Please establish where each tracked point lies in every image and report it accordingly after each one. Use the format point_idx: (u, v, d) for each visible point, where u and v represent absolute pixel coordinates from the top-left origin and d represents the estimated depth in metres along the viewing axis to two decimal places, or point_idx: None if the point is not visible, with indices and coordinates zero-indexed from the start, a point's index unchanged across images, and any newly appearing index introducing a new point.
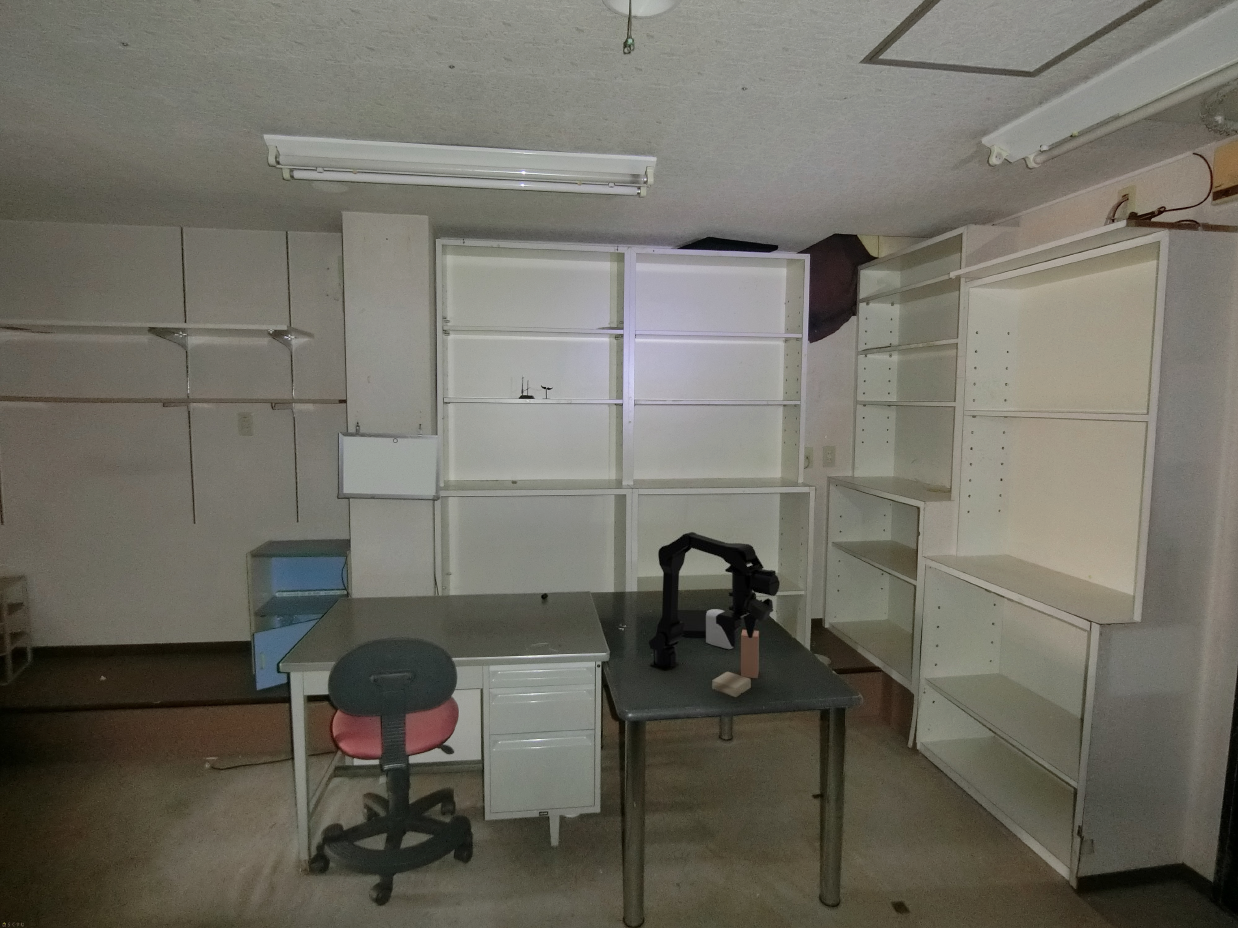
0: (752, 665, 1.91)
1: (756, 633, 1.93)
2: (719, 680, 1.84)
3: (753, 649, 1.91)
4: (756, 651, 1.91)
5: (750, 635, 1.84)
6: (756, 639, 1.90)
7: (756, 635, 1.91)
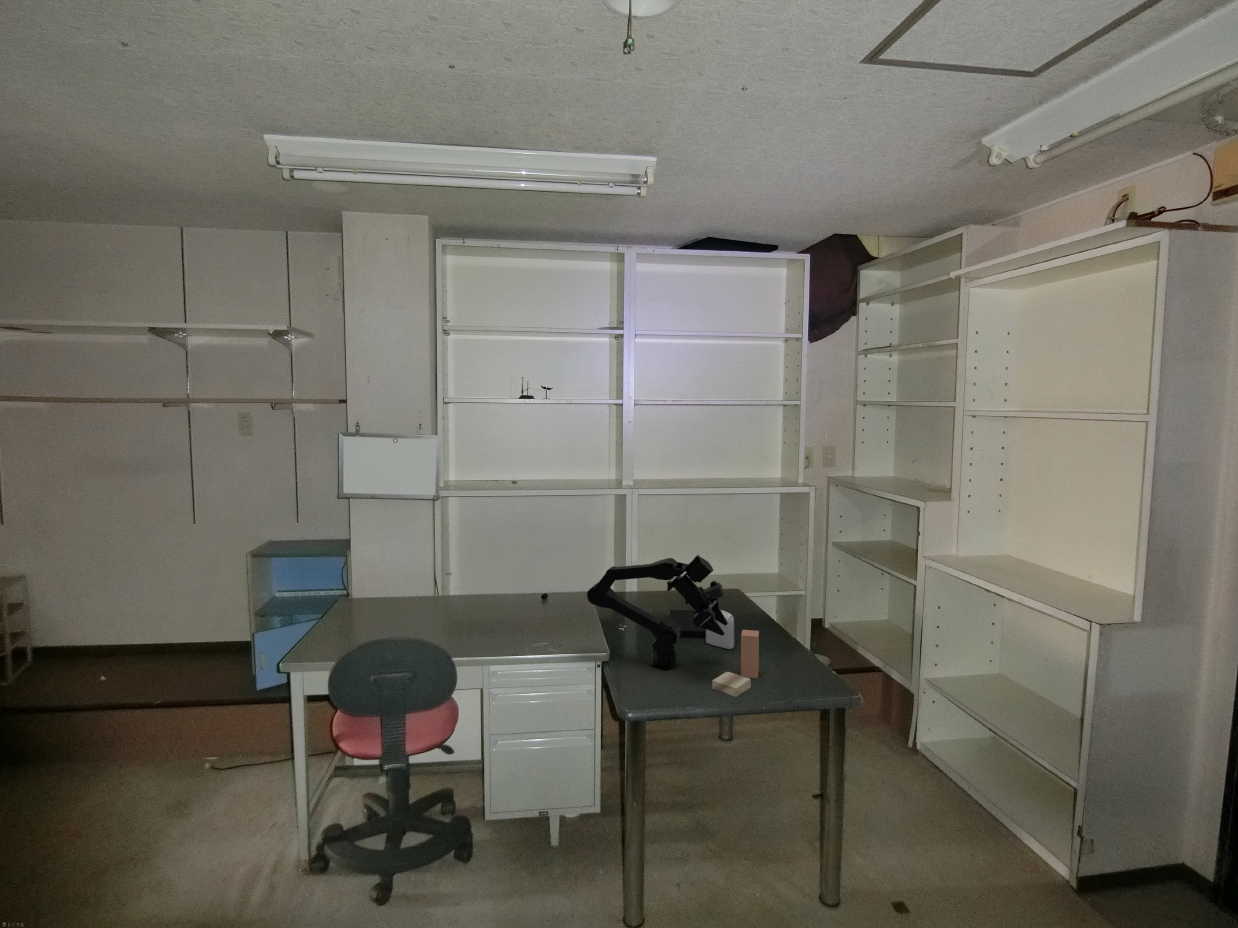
0: (752, 665, 1.91)
1: (755, 633, 1.93)
2: (719, 680, 1.84)
3: (753, 649, 1.91)
4: (756, 651, 1.91)
5: (725, 622, 1.99)
6: (756, 639, 1.90)
7: (756, 635, 1.91)
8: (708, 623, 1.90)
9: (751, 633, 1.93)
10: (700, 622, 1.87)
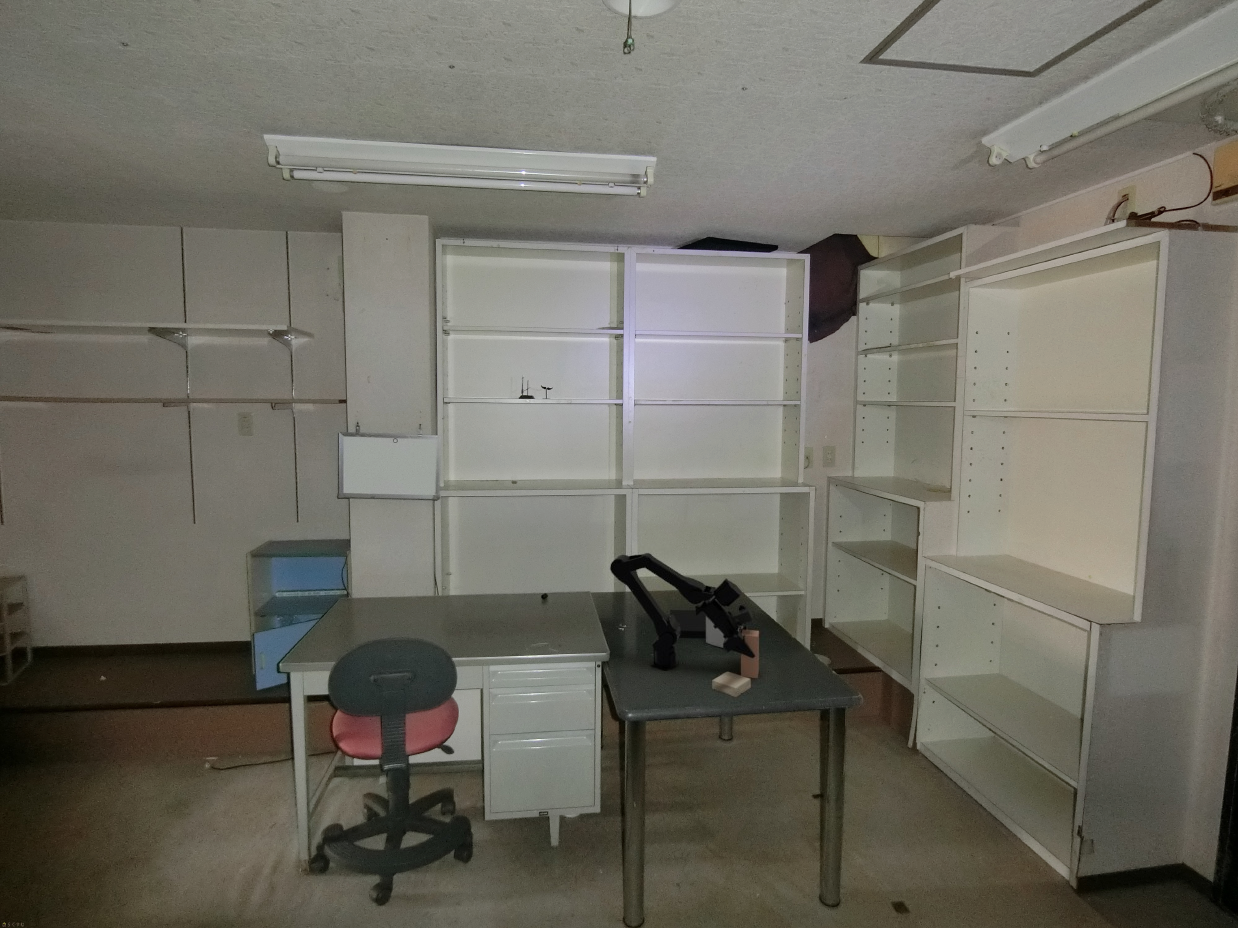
0: (752, 665, 1.91)
1: (756, 633, 1.93)
2: (719, 680, 1.84)
3: (753, 649, 1.91)
4: (756, 651, 1.91)
5: None
6: (756, 639, 1.90)
7: (756, 635, 1.91)
8: (738, 646, 1.90)
9: (751, 633, 1.93)
10: (730, 647, 1.86)
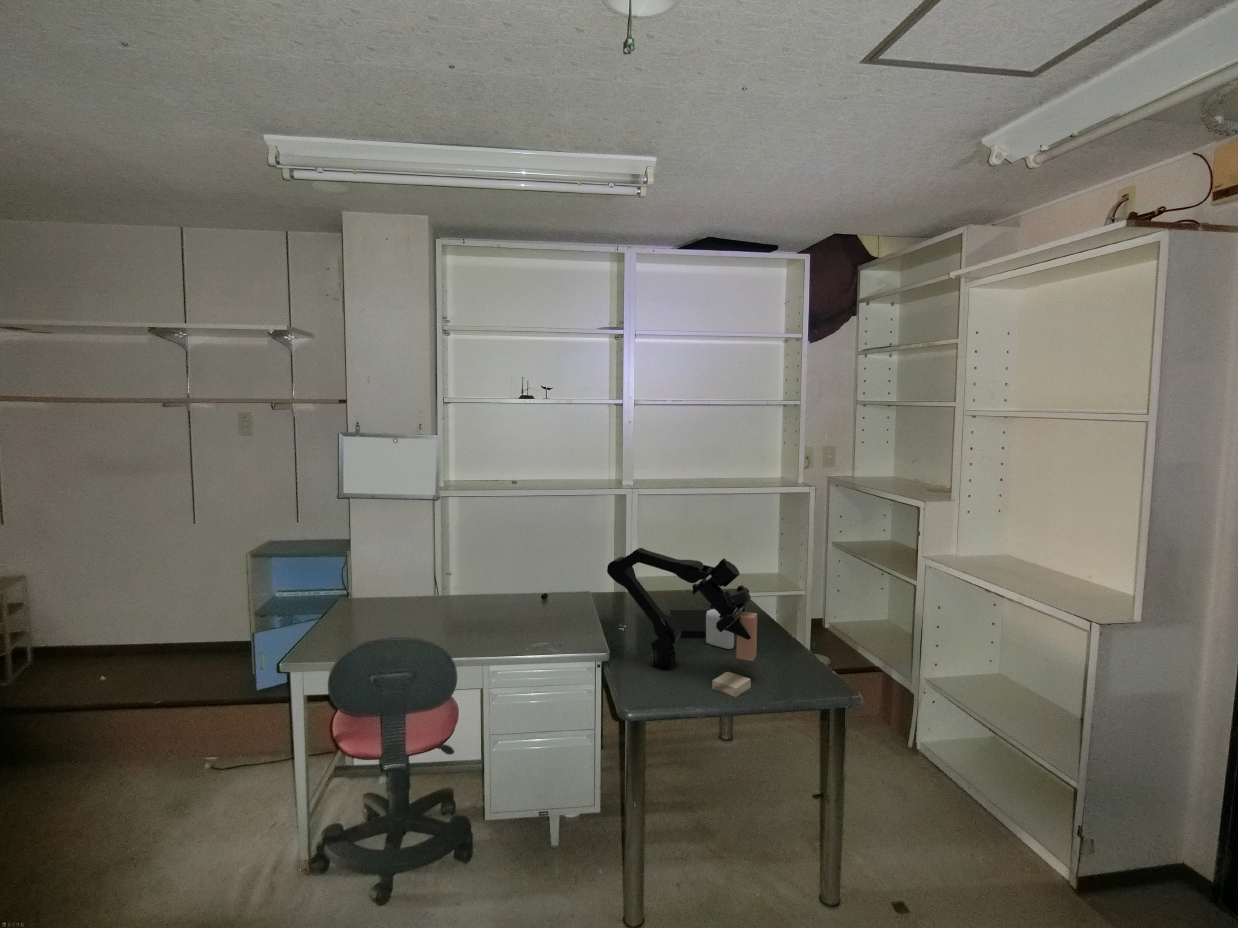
0: (748, 647, 1.88)
1: (753, 615, 1.89)
2: (719, 680, 1.84)
3: (749, 631, 1.87)
4: (752, 633, 1.87)
5: None
6: (752, 621, 1.87)
7: (752, 617, 1.87)
8: (734, 626, 1.87)
9: (748, 615, 1.89)
10: (723, 627, 1.83)
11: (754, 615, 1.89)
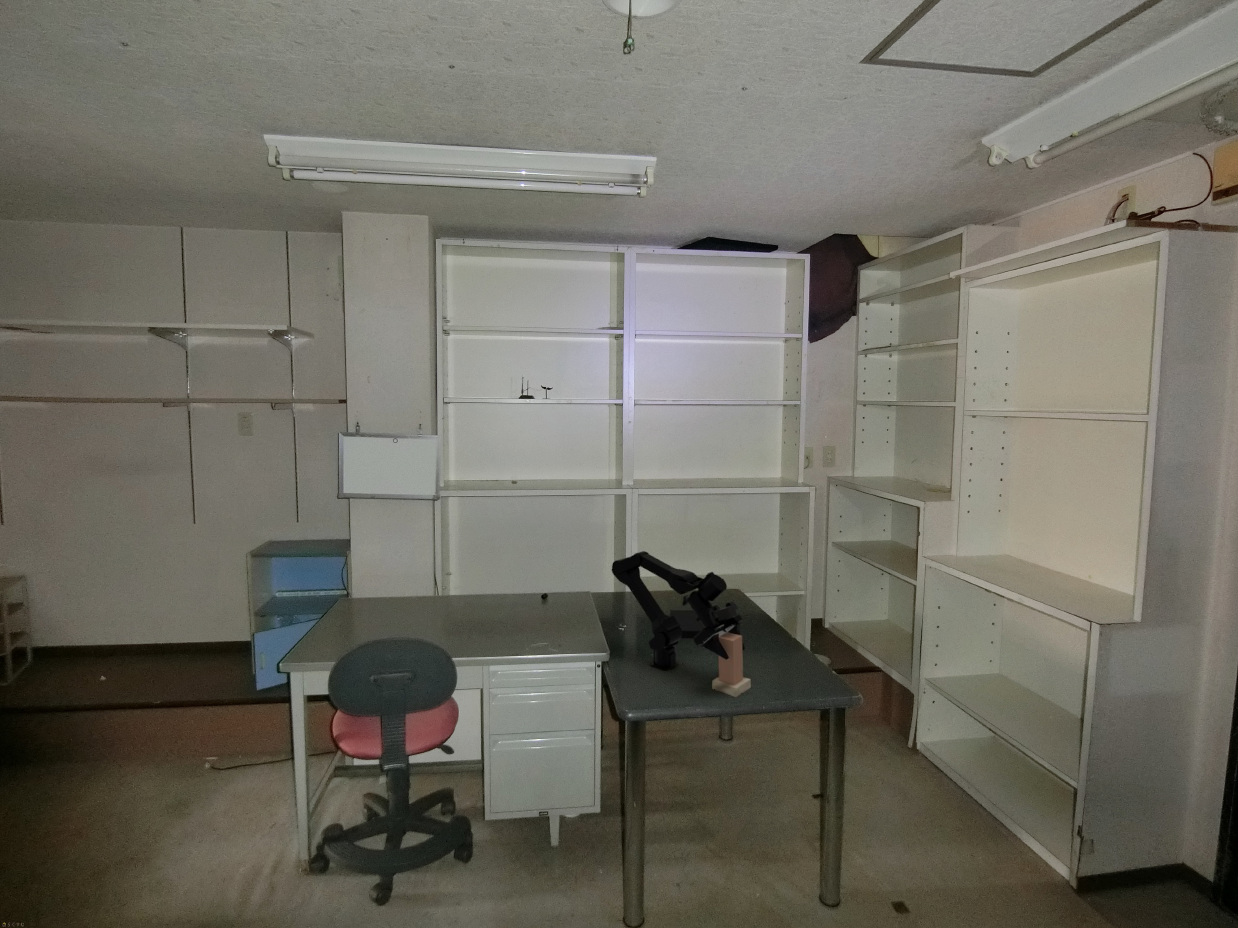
0: (729, 670, 1.81)
1: (735, 637, 1.82)
2: (719, 681, 1.84)
3: (729, 653, 1.81)
4: (732, 656, 1.80)
5: (742, 647, 1.86)
6: (731, 643, 1.80)
7: (733, 639, 1.81)
8: (712, 644, 1.81)
9: (730, 637, 1.83)
10: (699, 642, 1.80)
11: (736, 637, 1.82)
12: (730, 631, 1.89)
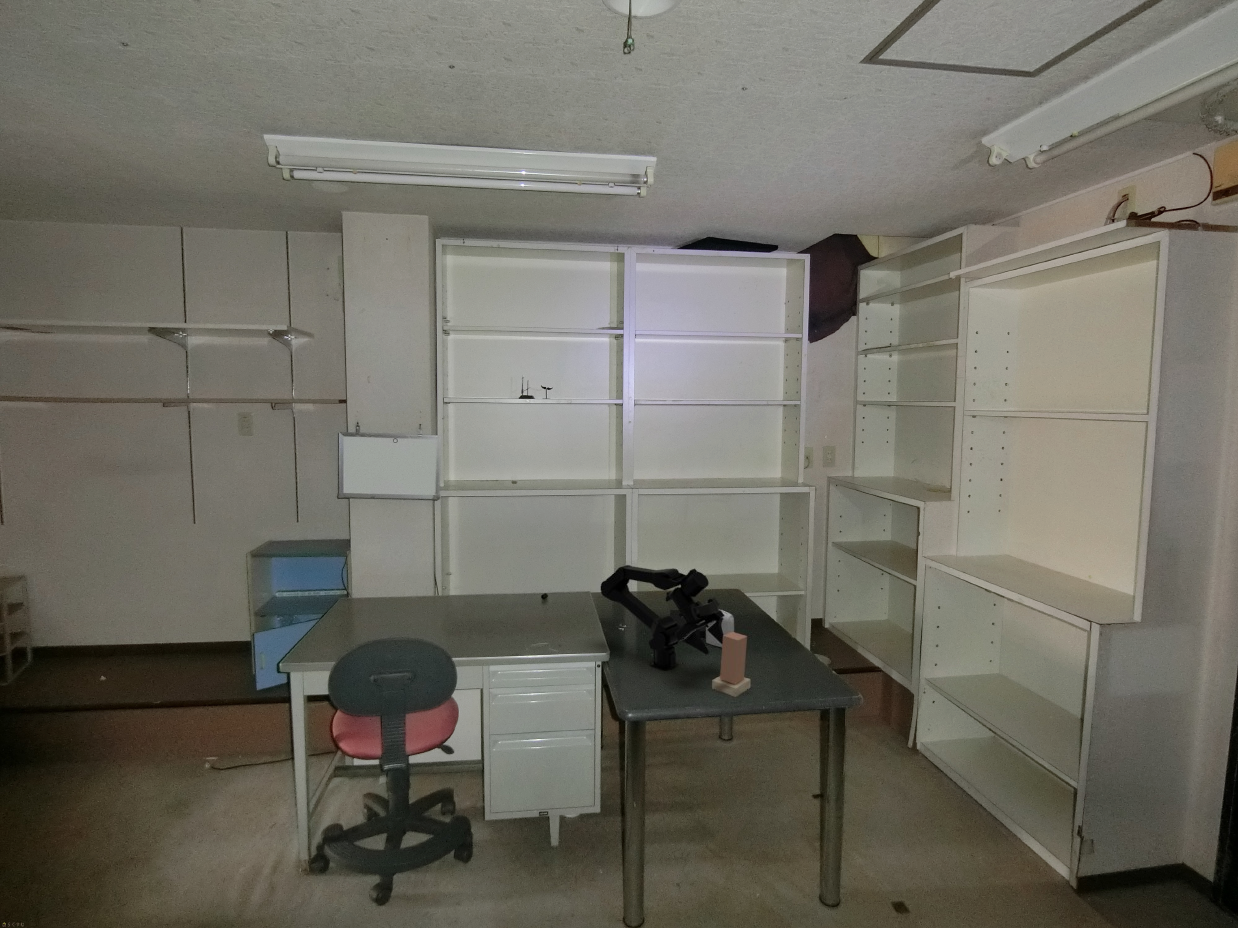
0: (731, 669, 1.82)
1: (740, 637, 1.82)
2: (719, 681, 1.84)
3: (733, 652, 1.81)
4: (735, 655, 1.80)
5: None
6: (736, 643, 1.80)
7: (738, 639, 1.81)
8: (693, 639, 1.86)
9: (735, 636, 1.83)
10: (680, 636, 1.84)
11: (741, 637, 1.82)
12: (712, 626, 1.94)
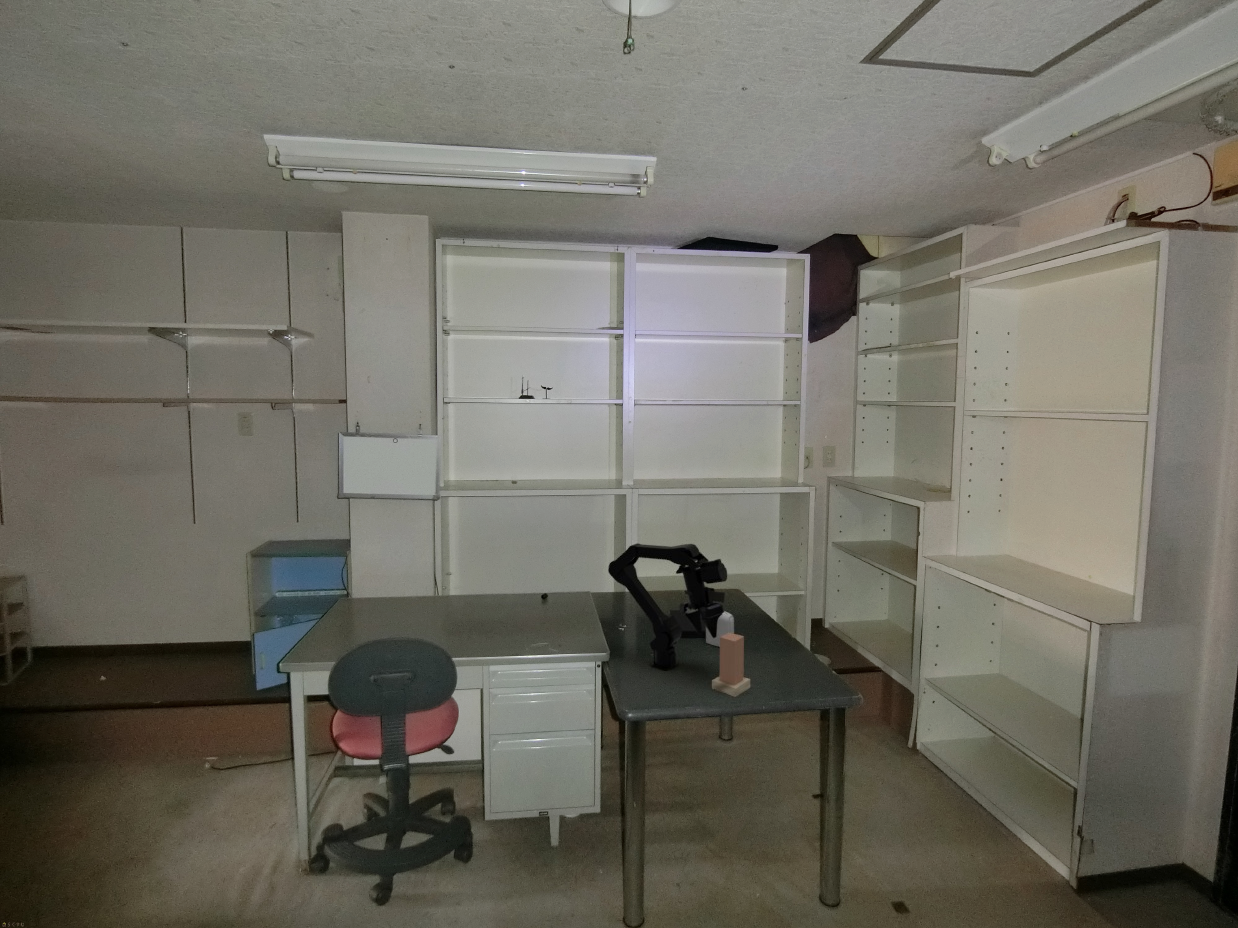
0: (730, 670, 1.81)
1: (737, 637, 1.82)
2: (719, 680, 1.84)
3: (731, 654, 1.81)
4: (733, 656, 1.80)
5: (700, 631, 1.97)
6: (733, 644, 1.80)
7: (735, 640, 1.81)
8: (710, 620, 1.87)
9: (732, 637, 1.83)
10: (712, 614, 1.84)
11: (738, 638, 1.82)
12: (693, 613, 1.97)
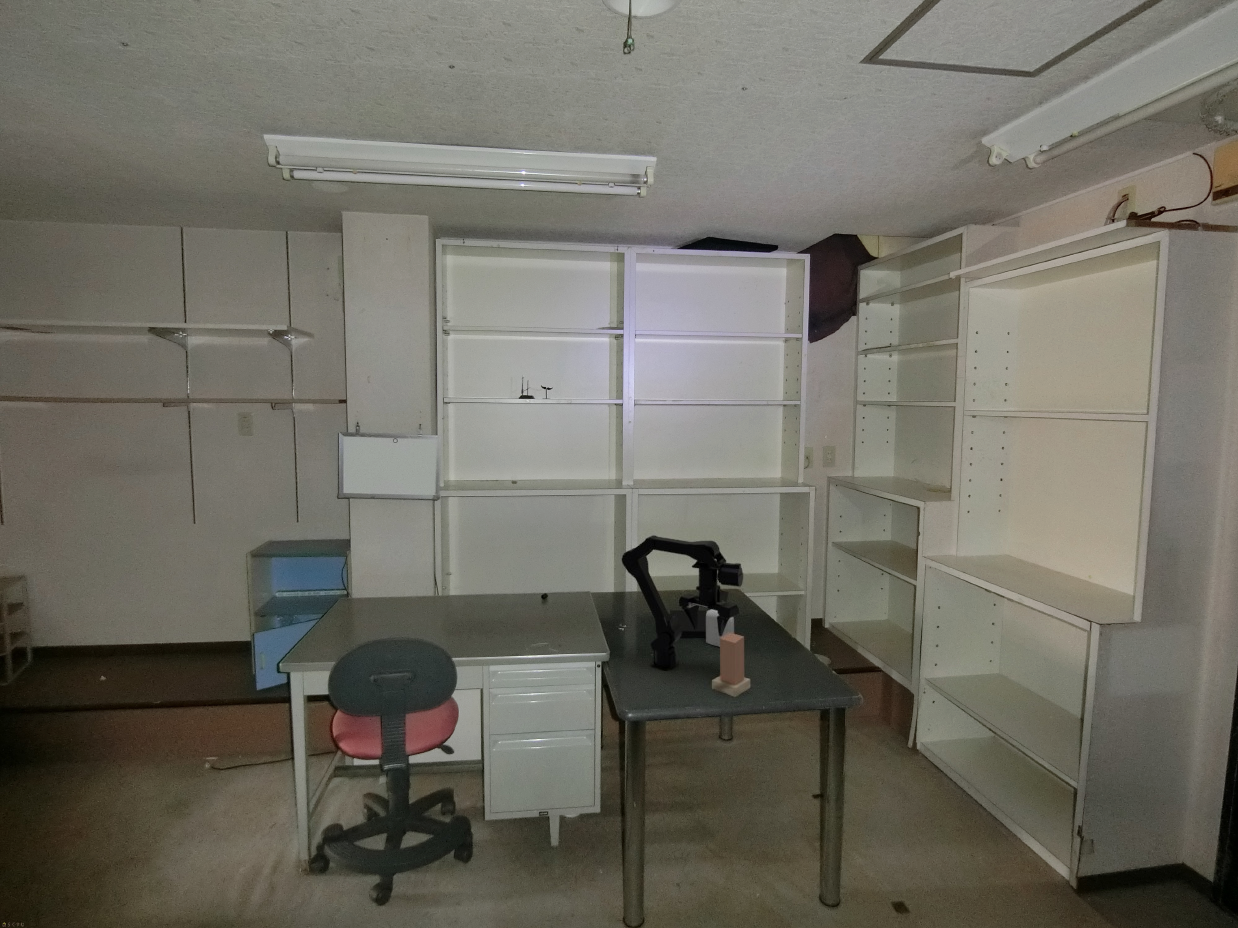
0: (730, 671, 1.81)
1: (737, 638, 1.81)
2: (719, 680, 1.84)
3: (731, 655, 1.80)
4: (733, 657, 1.80)
5: (696, 626, 1.97)
6: (733, 645, 1.79)
7: (735, 641, 1.80)
8: None
9: (732, 638, 1.81)
10: (732, 614, 1.86)
11: (738, 639, 1.81)
12: (693, 608, 1.96)
